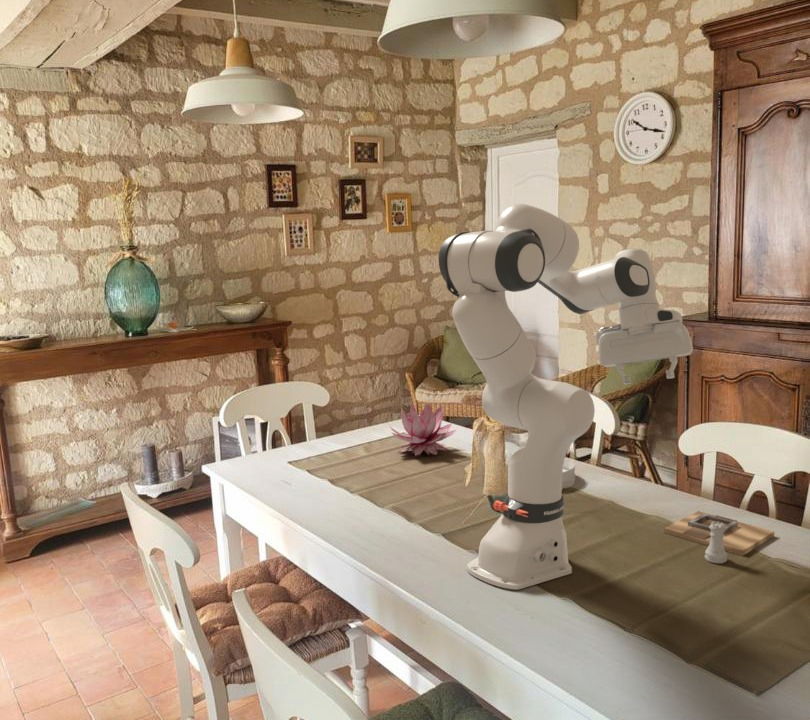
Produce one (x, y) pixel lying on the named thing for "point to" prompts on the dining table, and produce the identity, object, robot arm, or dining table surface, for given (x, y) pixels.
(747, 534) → the oak board
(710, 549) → the rook chess piece
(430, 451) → the decorative flower
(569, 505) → the dining table surface
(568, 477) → the dish
